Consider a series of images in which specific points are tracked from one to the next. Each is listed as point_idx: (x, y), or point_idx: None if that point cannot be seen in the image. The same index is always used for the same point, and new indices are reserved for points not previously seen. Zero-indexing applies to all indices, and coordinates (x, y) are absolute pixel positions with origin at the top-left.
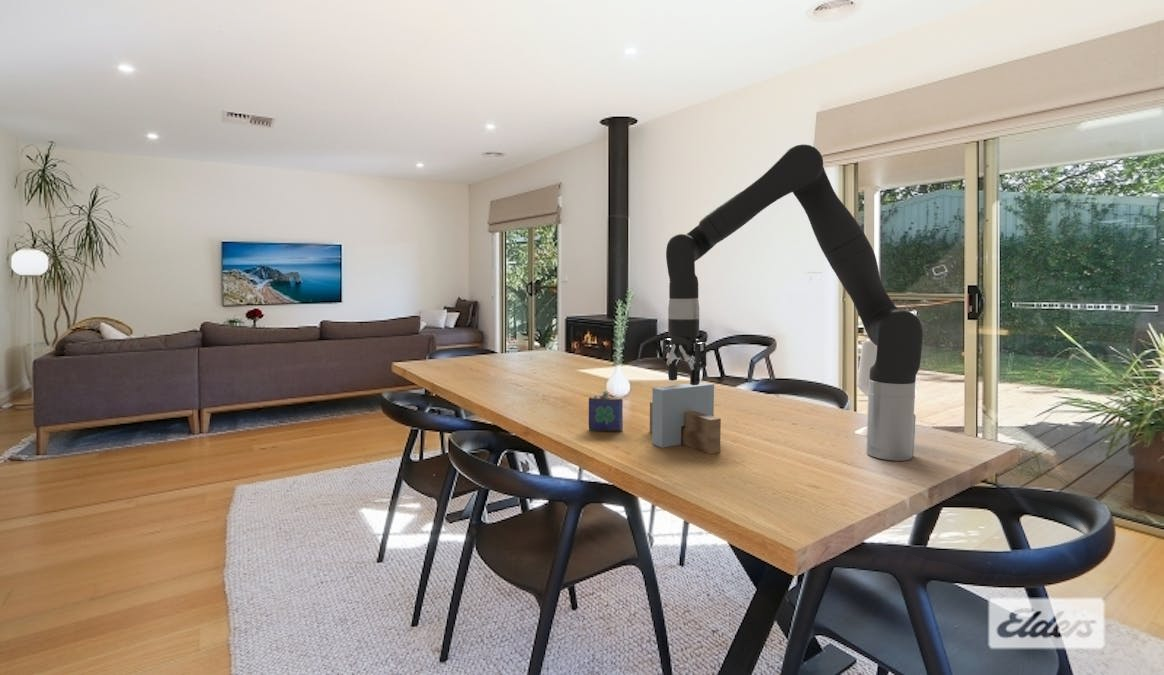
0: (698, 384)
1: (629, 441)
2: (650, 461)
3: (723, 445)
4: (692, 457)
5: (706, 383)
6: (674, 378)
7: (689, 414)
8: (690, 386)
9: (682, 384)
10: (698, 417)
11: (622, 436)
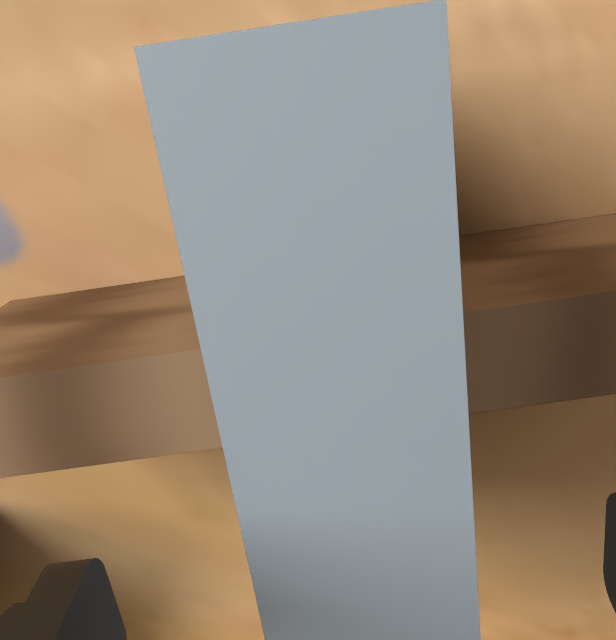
0: (331, 279)
1: (209, 546)
2: (558, 586)
3: (511, 95)
4: (612, 399)
5: (296, 84)
6: (104, 612)
7: (493, 407)
8: (432, 472)
9: (237, 492)
10: (611, 389)
11: (99, 541)
